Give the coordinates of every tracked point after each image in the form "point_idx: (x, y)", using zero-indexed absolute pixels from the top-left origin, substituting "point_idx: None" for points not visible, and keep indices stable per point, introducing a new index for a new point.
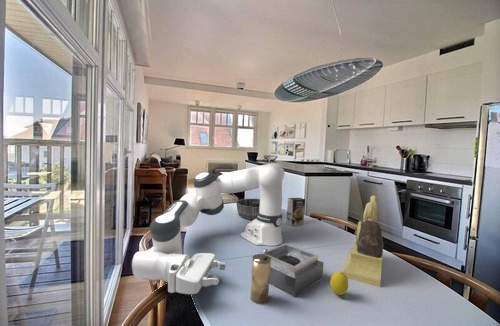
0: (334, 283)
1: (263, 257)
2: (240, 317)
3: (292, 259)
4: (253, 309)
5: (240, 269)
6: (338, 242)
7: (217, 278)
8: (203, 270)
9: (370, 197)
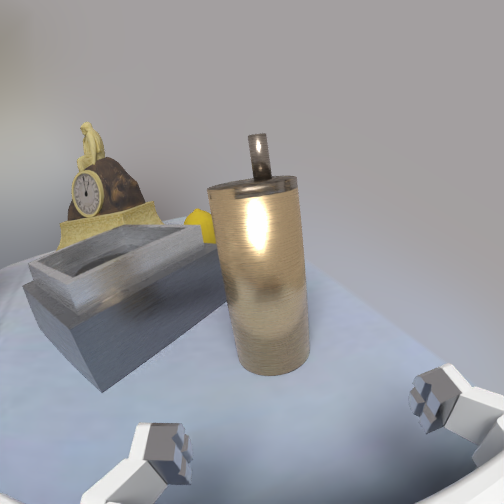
0: (212, 229)
1: (267, 167)
2: (412, 356)
3: (106, 261)
4: (348, 346)
5: (47, 437)
6: (20, 272)
7: (437, 368)
8: (476, 490)
9: (81, 127)
